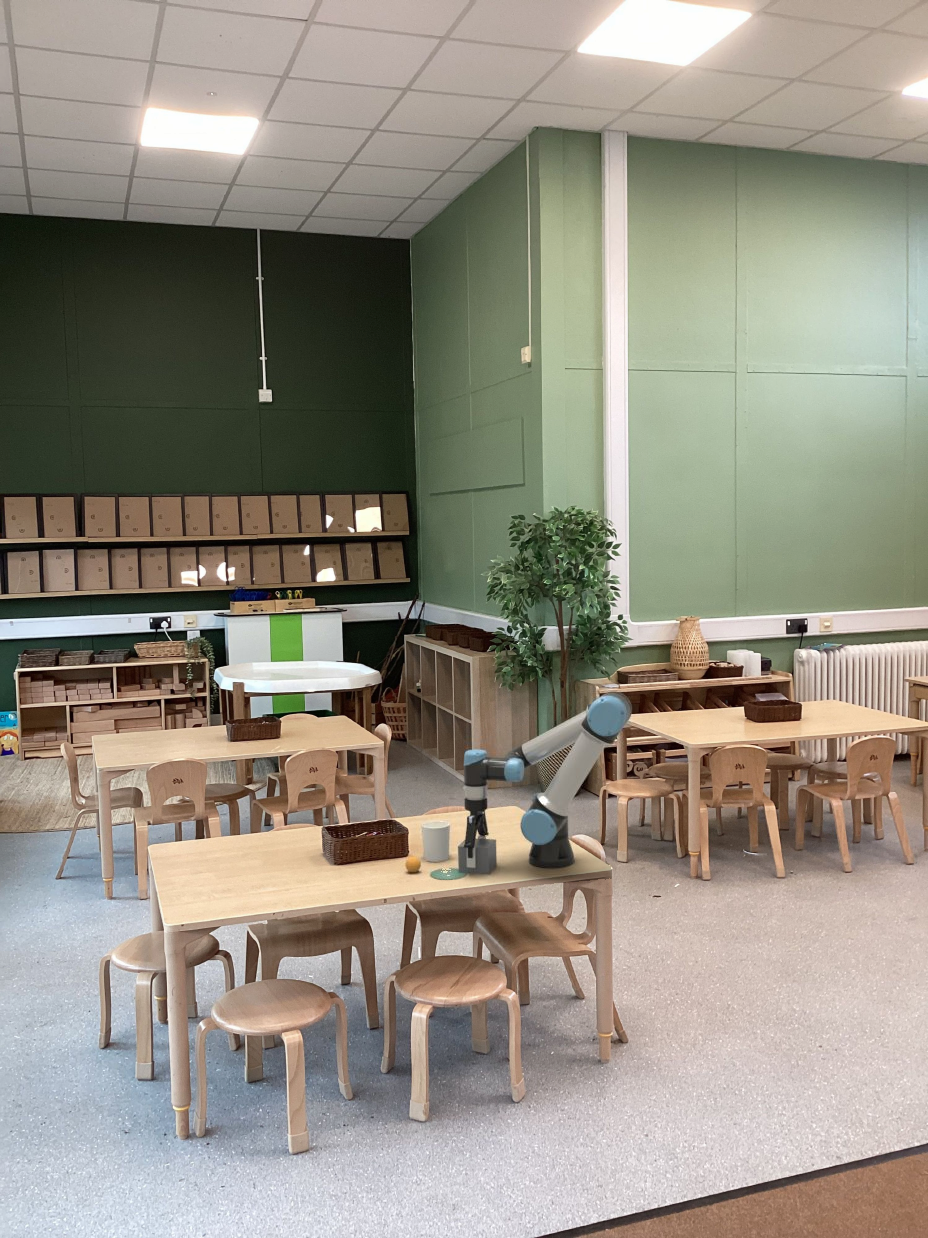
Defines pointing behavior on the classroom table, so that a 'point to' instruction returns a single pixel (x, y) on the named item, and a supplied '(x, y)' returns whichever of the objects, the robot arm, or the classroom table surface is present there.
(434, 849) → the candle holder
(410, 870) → the ball
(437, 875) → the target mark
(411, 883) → the classroom table surface
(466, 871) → the grey matte cube
